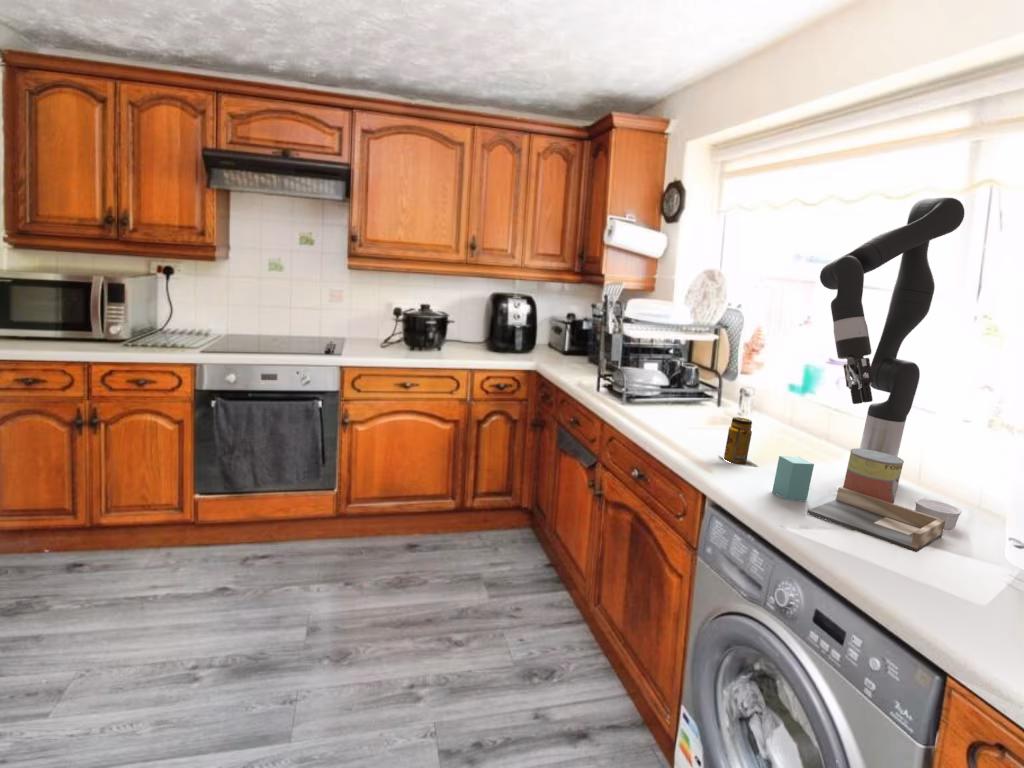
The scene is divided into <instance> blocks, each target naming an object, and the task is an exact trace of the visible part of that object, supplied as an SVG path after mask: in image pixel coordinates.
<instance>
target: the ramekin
mask: <svg viewBox="0 0 1024 768" xmlns="http://www.w3.org/2000/svg"><path fill="white" fill-rule="evenodd" d="M914 510H915V511H918V512H921V513H924V514H927V515H930V516H933V517H937V518H940V519H943V520H946V521H945V525H944V530H945V531H952V530H954V529H955V528H956V525H957V522H958V520H959V517H960V516H961V514H962V511H961V509H960V508H958V507H956V506H955V505H952V504H949V503H947V502H943V501H940V500H937V499H936V500H935V499H930V498H917V499H915V509H914ZM944 530H943V531H944Z"/></svg>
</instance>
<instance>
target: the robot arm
mask: <svg viewBox="0 0 1024 768" xmlns="http://www.w3.org/2000/svg"><path fill="white" fill-rule="evenodd" d="M964 218H965V207H964V205H963V203H962V202H961V201H960V200H958V199H957V198H954V197H948V196H947V197H933V198H932V197H931V198H922V199H919V200H917V201H916V202H914V204H913V205H912V207H911V209H910V211H909V213H908V216H907V221H906V225H902V226H900V227H896V228H894V229H891V230H888V231H886V232H882V233H881V234H878V235H876V236H874V237H873V238H871V239H869V240H867V241H866V242H864V243H862V244H861V245H859V246H857V247H856V248H855V249H853V250H852V251H850V252H849V253H847V254H845V255H843V256H840V257H838V258H837V259H834V260H833V261H831V262H829V263H827V264H826V265H825V266H823V267H822V269H821V271H820V273H819V279H820V282H821V284H822V286H823V287H824V288H826V289H829V290H832V291H833V290H837V291H836V293H837V294H836V296H835V297H834V299H833V300H831V302H830V310H831V311H830V312H831V317H832V322H833V336H834V342H835V349H836V354H837V358H838V359H839V360H844V359H845V360H846V363H844V364H843V367H842V368H843V370H844V371H843V372H844V377H845V378H844V379H845V386H846V388H848V389H849V390H850V397H851V403H852V404H853V405H856V404H857V405H859V404H862V403H870V402H871V404H870V405H869V407H868V409H867V414H866V418H865V422H864V423H865V424H864V429H863V432H862V437H861V442H860V446H859V449H868V450H874V451H879V452H883V453H887V454H890V455H893V456H896V457H898V456H899V451H900V448H901V447H900V446H901V443H902V440H903V439H902V438H903V435H904V430H905V425H906V421H907V418H908V415H909V413H910V411H911V409H912V406H913V404H914V403H913V402H914V399H915V397H916V392H917V389H918V385H919V383H920V382H919V381H920V373H921V372H920V368H919V365H917V364H916V363H915V362H914V361H909V360H904V359H900V358H899V359H898V358H897V356H898V354H899V350H900V349H901V346H902V344H903V342H904V340H905V338H906V337H907V336H908V335H909V334H910V333H911V332H912V331H914V329H916V327H917V326H918V325H919V324H920V323H922V321H923V320H924V319H925V318H926V316H927V315H928V314H929V312H930V308H931V306H932V301H933V297H934V294H935V293H934V292H935V289H936V288H935V287H936V286H935V280H934V276H933V272H932V269H931V267H930V263H929V259H928V252H929V247H930V242H931V241H932V240H934V239H937V238H939V237H942V236H945V235H948V234H951V233H953V232H954V231H956V230H957V229H958V228H959V227H960V225H961V224H962V222H963V221H964ZM900 255H901V258H900V263H899V267H898V273H897V276H896V280H895V283H894V286H893V290H892V293H891V297H890V303H889V307H888V312H887V316H886V319H885V323H884V327H883V329H882V334H881V335H880V339H879V343H878V345H877V347H876V350H875V353H874V355H873V358H872V361H871V360H870V358H869V357H868V356H869V355H871V354H872V346H871V340H870V336H869V335H870V334H869V329H868V325H867V321H866V318H865V312H864V306H863V301H862V300H863V294H864V282H865V281H864V280H865V274H867V273H870V272H873V271H874V270H876V269H878V268H880V267H882V266H883V265H885V264H886V263H888V262H891V260H893V259H895V258H897V257H898V256H900ZM865 356H867V357H865ZM870 361H871V362H870ZM872 389H875V390H878V391H882V392H886V393H889V395H888V398H887V400H886V401H882V402H879V403H877V402H876V403H872V402H873V395H872Z"/></svg>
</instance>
